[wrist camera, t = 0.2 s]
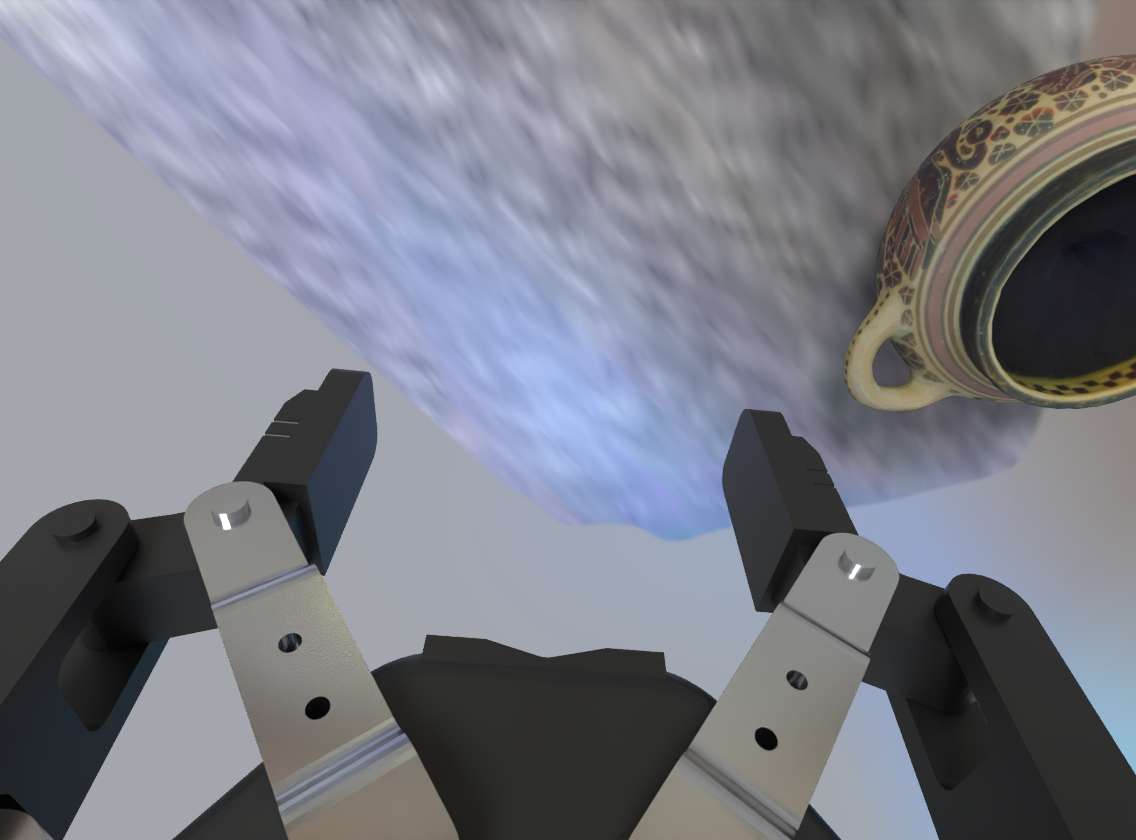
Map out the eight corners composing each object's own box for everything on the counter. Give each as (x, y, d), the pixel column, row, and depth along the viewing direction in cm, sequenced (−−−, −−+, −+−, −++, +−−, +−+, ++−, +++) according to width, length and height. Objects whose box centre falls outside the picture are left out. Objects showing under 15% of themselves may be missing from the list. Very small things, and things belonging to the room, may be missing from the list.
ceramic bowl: (822, 356, 49) (920, 517, 39) (732, 190, 37) (840, 360, 27) (1185, 164, 40) (1432, 307, 30) (1219, -132, 28) (1640, -57, 18)
